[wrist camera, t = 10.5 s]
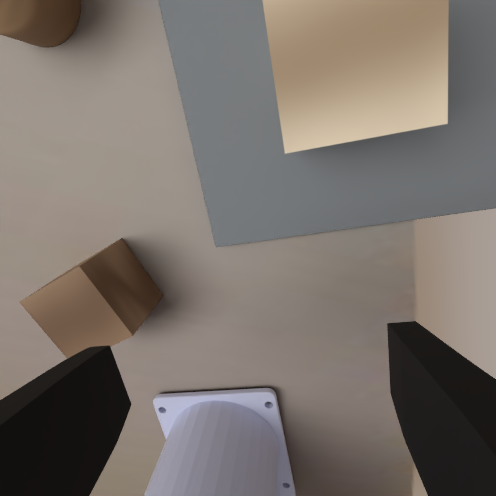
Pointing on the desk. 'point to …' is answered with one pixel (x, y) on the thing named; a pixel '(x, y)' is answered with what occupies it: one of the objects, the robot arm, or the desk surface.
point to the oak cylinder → (39, 20)
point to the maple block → (357, 68)
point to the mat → (328, 157)
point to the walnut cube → (95, 301)
